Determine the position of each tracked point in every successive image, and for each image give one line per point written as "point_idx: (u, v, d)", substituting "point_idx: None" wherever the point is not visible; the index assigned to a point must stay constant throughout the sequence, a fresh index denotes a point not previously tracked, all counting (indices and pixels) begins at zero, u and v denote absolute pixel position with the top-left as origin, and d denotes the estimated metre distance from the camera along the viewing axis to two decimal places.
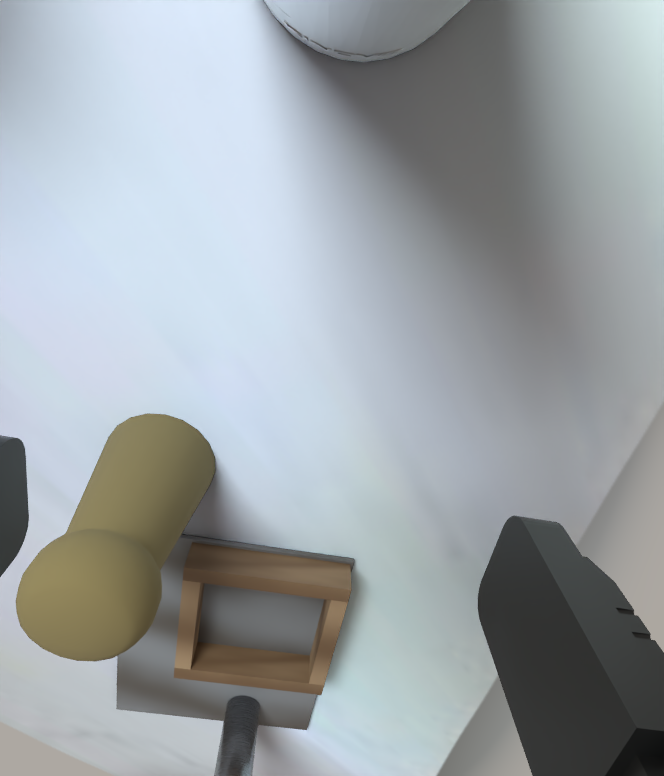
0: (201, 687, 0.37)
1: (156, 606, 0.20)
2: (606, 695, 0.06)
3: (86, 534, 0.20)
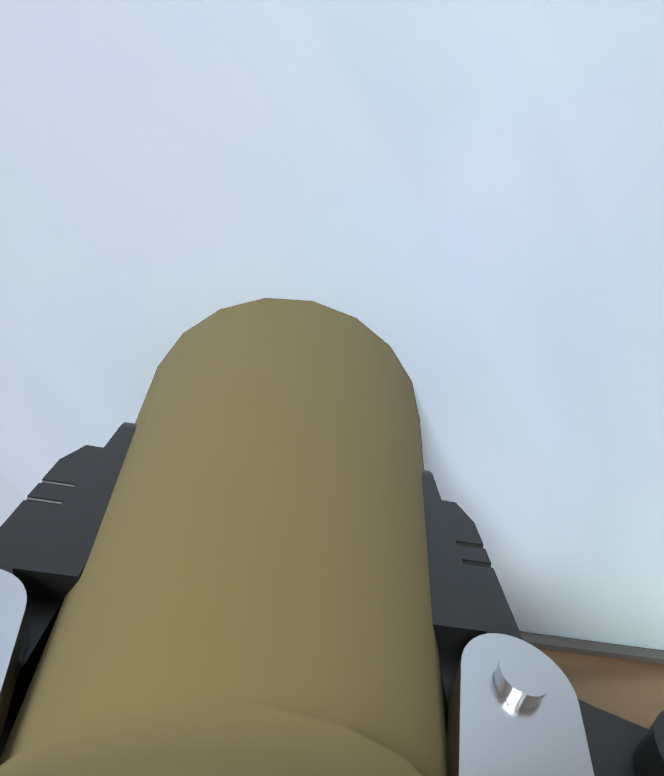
0: None
1: None
2: None
3: None
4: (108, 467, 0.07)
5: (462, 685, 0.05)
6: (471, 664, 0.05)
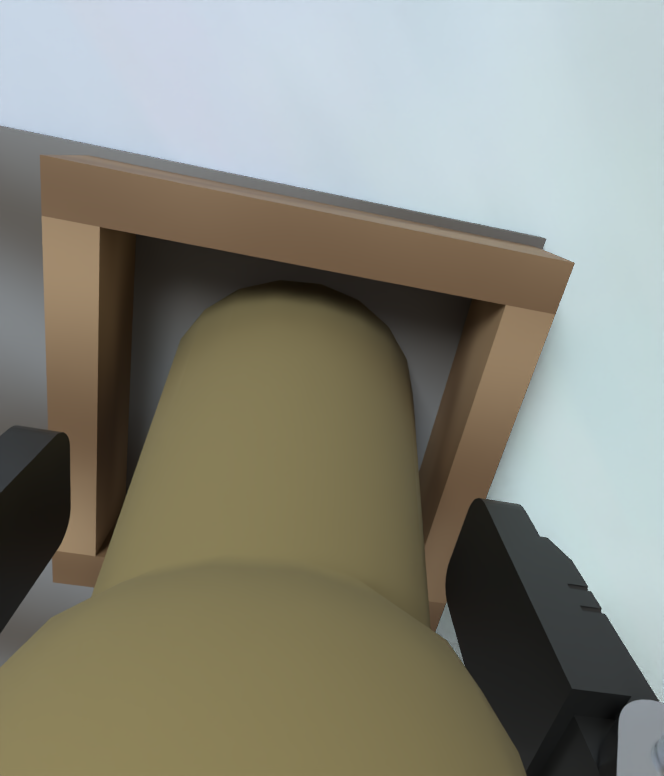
0: None
1: None
2: (548, 660, 0.06)
3: (232, 592, 0.04)
4: None
5: (620, 746, 0.05)
6: (630, 726, 0.05)
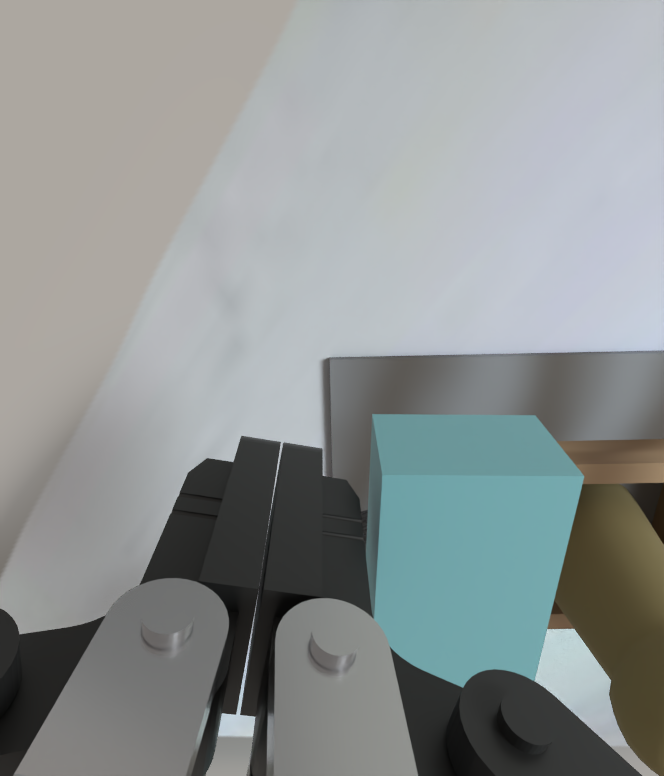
0: None
1: None
2: (265, 570, 0.06)
3: None
4: (244, 481, 0.08)
5: (276, 665, 0.05)
6: (285, 638, 0.05)
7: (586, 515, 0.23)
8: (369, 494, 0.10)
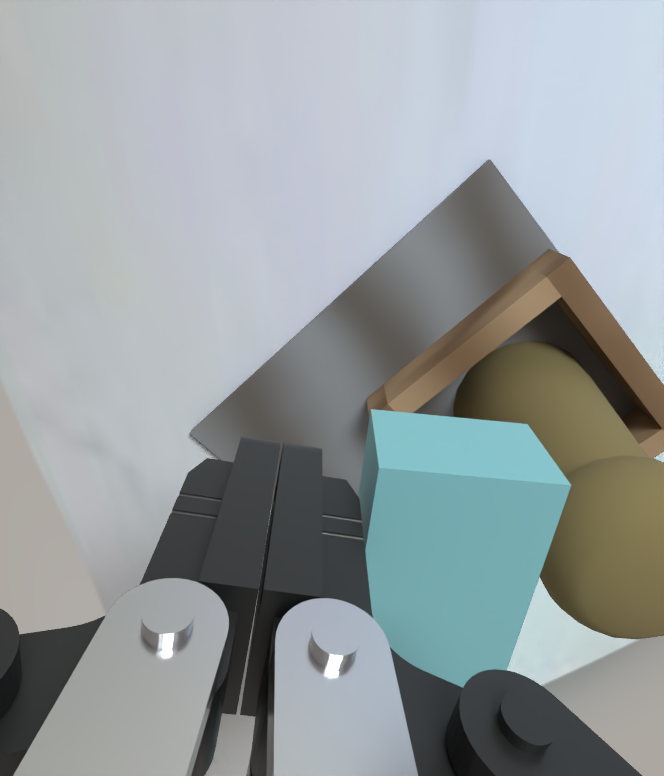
0: (331, 468, 0.25)
1: None
2: (265, 570, 0.06)
3: None
4: (245, 481, 0.08)
5: (276, 665, 0.05)
6: (285, 639, 0.05)
7: (483, 403, 0.21)
8: (360, 487, 0.10)
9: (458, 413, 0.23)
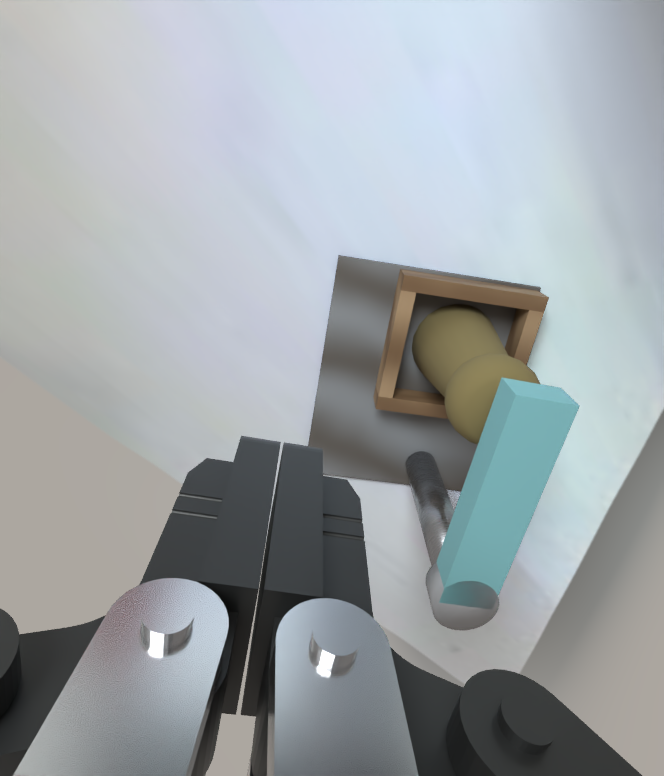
0: (385, 442, 0.40)
1: None
2: (265, 571, 0.06)
3: (495, 354, 0.28)
4: (244, 481, 0.08)
5: (277, 665, 0.05)
6: (285, 638, 0.05)
7: (422, 365, 0.35)
8: (491, 409, 0.25)
9: (422, 373, 0.37)
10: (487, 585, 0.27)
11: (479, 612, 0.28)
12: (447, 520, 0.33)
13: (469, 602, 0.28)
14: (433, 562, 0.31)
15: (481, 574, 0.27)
